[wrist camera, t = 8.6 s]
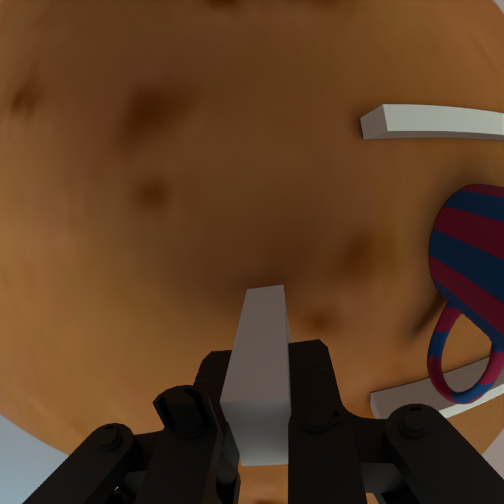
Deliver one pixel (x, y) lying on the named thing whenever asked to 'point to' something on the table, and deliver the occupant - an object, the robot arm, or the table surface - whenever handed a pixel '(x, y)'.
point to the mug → (469, 279)
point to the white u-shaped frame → (433, 126)
